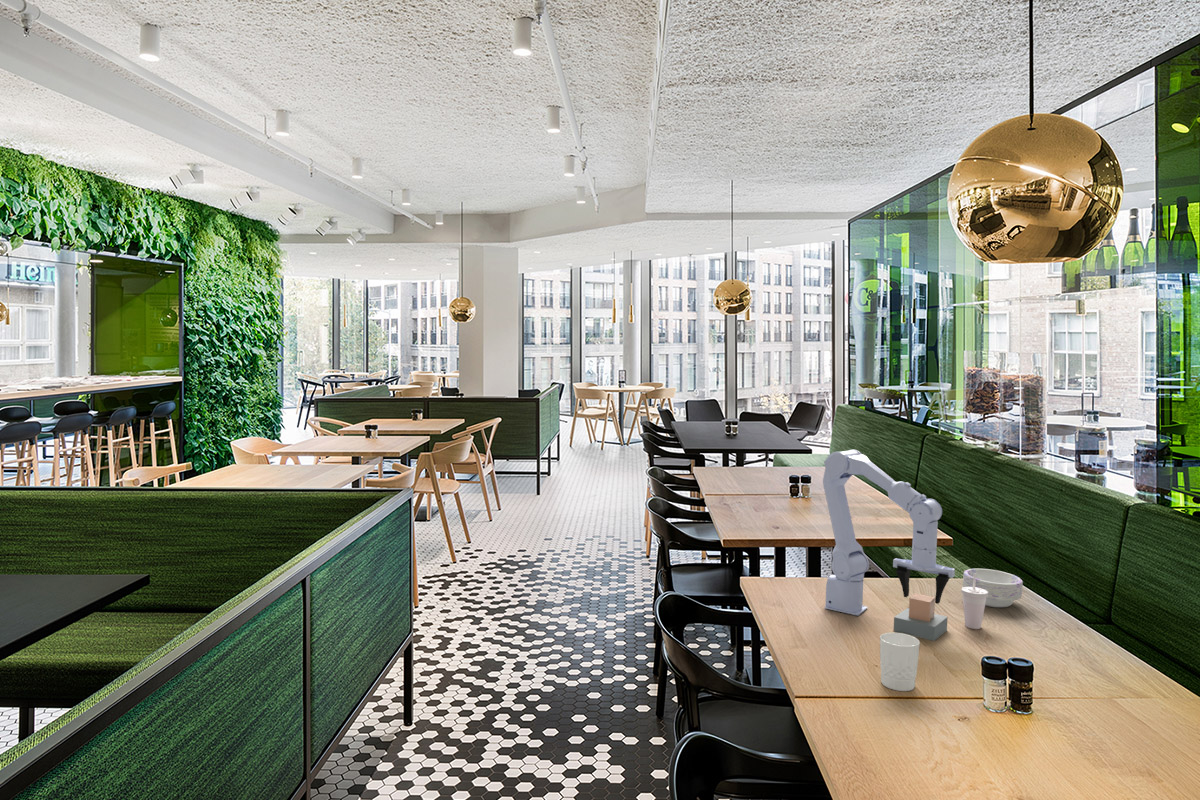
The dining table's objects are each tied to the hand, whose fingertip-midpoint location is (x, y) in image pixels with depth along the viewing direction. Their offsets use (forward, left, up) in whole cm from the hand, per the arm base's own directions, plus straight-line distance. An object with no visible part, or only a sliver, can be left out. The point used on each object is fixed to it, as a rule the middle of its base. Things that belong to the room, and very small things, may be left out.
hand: (921, 599), depth 195 cm
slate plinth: (0, 0, -9) cm, 9 cm away
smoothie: (+10, +12, -8) cm, 18 cm away
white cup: (+5, -37, -8) cm, 38 cm away
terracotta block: (0, 0, -5) cm, 5 cm away
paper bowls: (+10, +37, -8) cm, 39 cm away
